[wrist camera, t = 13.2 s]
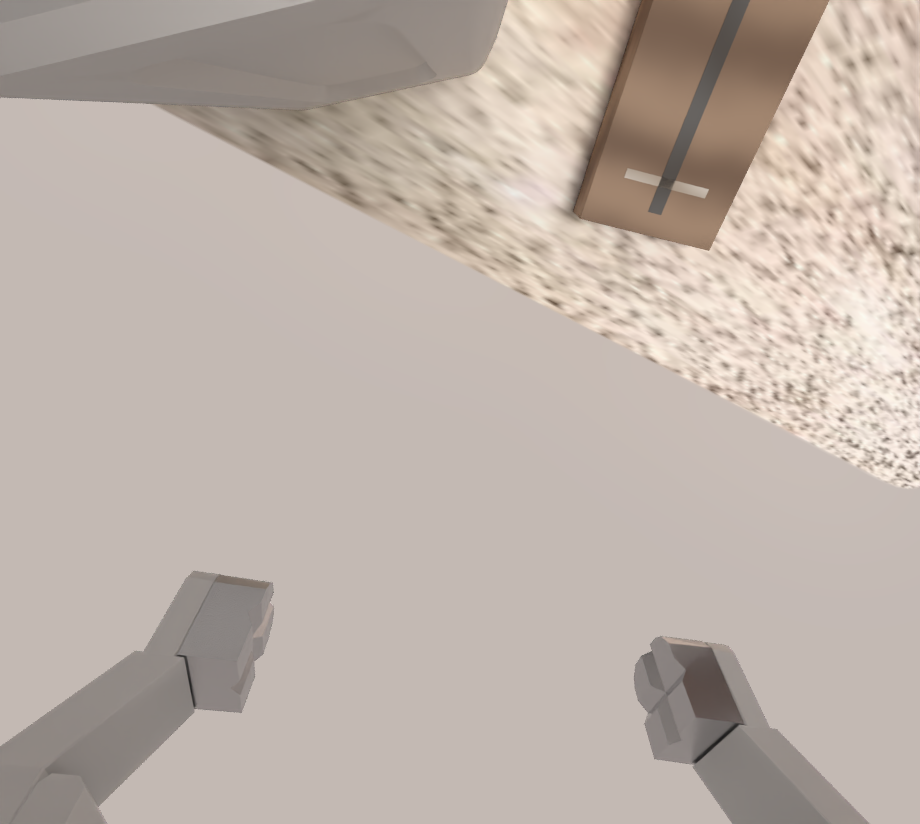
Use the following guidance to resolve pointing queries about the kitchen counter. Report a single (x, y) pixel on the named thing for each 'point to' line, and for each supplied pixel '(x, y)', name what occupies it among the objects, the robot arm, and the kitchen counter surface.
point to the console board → (691, 112)
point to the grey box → (239, 49)
